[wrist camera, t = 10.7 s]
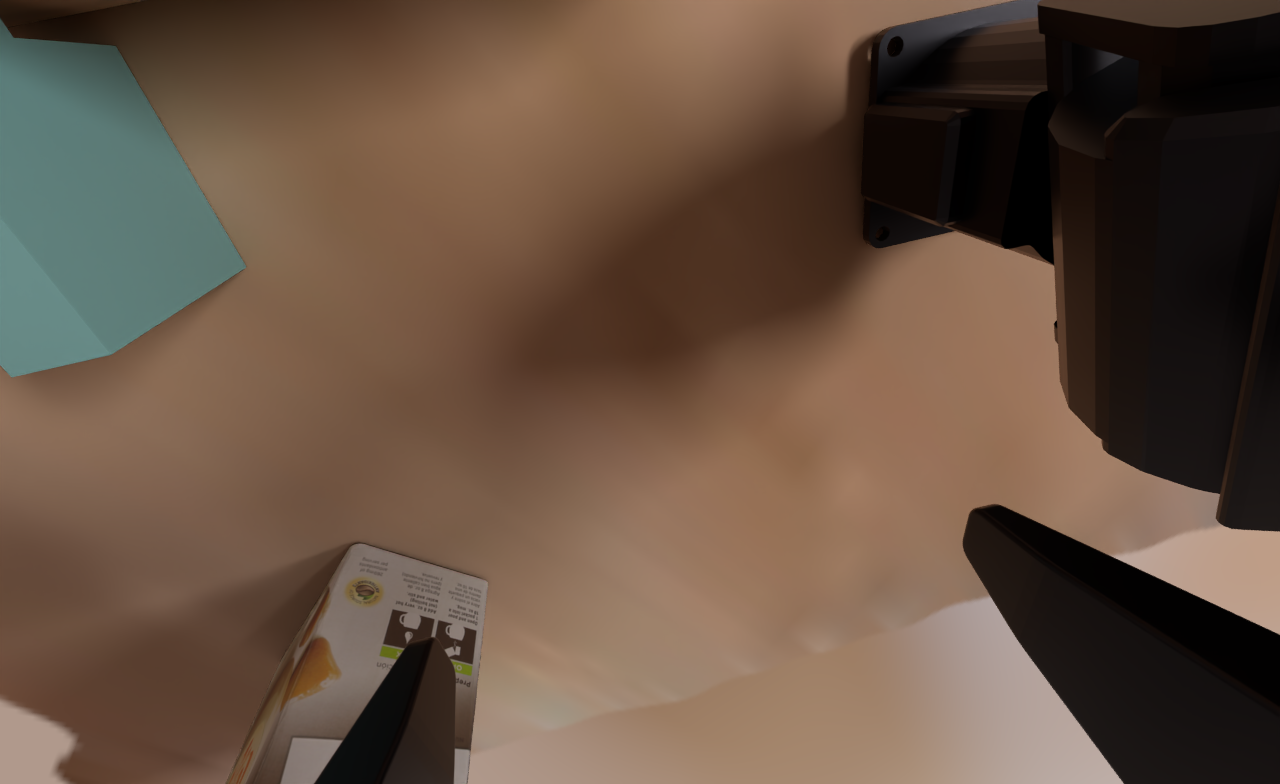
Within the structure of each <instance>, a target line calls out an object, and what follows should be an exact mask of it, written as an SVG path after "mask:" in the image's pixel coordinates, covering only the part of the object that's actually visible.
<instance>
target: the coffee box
mask: <svg viewBox="0 0 1280 784" xmlns="http://www.w3.org/2000/svg"><path fill="white" fill-rule="evenodd" d="M487 591H488V583H487V581H485V580H483V579H480V578H476V577H473V576H470V575H466V574H463V573H460V572H456V571H453V570H450V569H446V568H443V567H439V566H436V565H433V564H429V563H426V562H422V561H419V560H416V559H412V558H409V557H405V556H402V555H399V554H395V553H392V552H389V551H385V550H382V549H379V548H376V547H372V546H369V545H366V544H354V545H352V546H350V548H349V549H348V551H347V553H346V554H345V556H344V558H343V559H342V561H341V562H340V564H339V566H338V567H337V569H336V571H335V572H334V574H333V576H332V577H331V579H330V581H329V582H328V584H327V586H326V587H325V589H324V591H323V592H322V594H321V596H320V597H319V599H318V601H317V602H316V604H315V605H314V607H313V609H312V610H311V612H310V614H309V615H308V617H307V618H306V620H305V622H304V623H303V625H302V627H301V628H300V630H299V631H298V633H297V635H296V636H295V638H294V640H293V641H292V643H291V645H290V646H289V648H288V650H287V651H286V653H285V655H284V656H283V658H282V659H281V661H280V663H279V665H278V667H277V669H276V672H275V674H274V676H273V678H272V680H271V683H270V685H269V687H268V689H267V692H266V694H265V696H264V698H263V700H262V703H261V705H260V707H259V709H258V712H257V714H256V716H255V718H254V720H253V723H252V725H251V727H250V729H249V732H248V734H247V736H246V738H245V741H244V743H243V746H242V748H241V750H240V753H239V755H238V757H237V759H236V761H235V763H234V766H233V768H232V770H231V773H230V775H229V777H228V779H227V782H226V784H314V783H315V781H316V780H317V778H318V777H319V775H320V774H321V772H322V771H323V769H324V768H325V766H326V765H327V763H328V762H329V760H330V759H331V757H332V756H333V754H334V753H335V751H336V750H337V748H338V747H339V745H340V744H341V742H342V741H343V739H344V738H345V736H346V735H347V733H348V732H349V730H350V729H351V727H352V726H353V724H354V723H355V721H356V720H357V718H358V717H359V715H360V714H361V712H362V711H363V709H364V708H365V706H366V705H367V703H368V702H369V700H370V699H371V697H372V696H373V694H374V693H375V691H376V690H377V688H378V687H379V685H380V684H381V683H382V681H383V680H384V678H385V677H386V675H387V674H388V672H389V671H390V669H391V668H392V666H393V665H394V663H395V662H396V660H397V659H398V657H399V656H400V654H401V653H402V651H403V650H404V648H405V647H406V646H407V645H408V644H409V643H411V642H413V641H416V640H420V639H425V638H429V637H435V638H437V639H438V640H439V641H440V643H441V645H442V646H443V648H444V650H445V651H446V653H447V655H448V656H449V658H450V660H451V661H452V663H453V665H454V668H455V673H456V713H455V770H454V784H467V783H468V773H469V772H468V771H469V764H470V751H471V742H472V732H473V722H474V714H475V705H476V695H477V683H478V675H479V667H480V659H481V648H482V638H483V629H484V618H485V608H486V599H487Z"/></svg>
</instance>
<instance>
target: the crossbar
mask: <svg viewBox="0 0 1280 784" xmlns="http://www.w3.org/2000/svg"><path fill="white" fill-rule="evenodd" d="M245 268H246V265H245V264H244V262H243V260H242V259H241V257H240V255H239V254H238V252H237V250H236V248H235V247H234V245H233V243H232V242H231V240H230V238H229V237H228V235H227V233H226V232H225V230H224V228H223V226H222V225H221V223H220V221H219V220H218V218H217V216H216V215H215V213H214V211H213V210H212V208H211V206H210V205H209V203H208V201H207V199H206V198H205V196H204V194H203V193H202V191H201V189H200V188H199V186H198V184H197V183H196V181H195V179H194V177H193V176H192V174H191V172H190V171H189V169H188V167H187V166H186V164H185V162H184V161H183V159H182V157H181V155H180V154H179V152H178V150H177V149H176V147H175V145H174V144H173V142H172V140H171V139H170V137H169V135H168V133H167V132H166V130H165V128H164V127H163V125H162V123H161V122H160V120H159V118H158V117H157V115H156V113H155V111H154V110H153V108H152V106H151V105H150V103H149V101H148V100H147V98H146V96H145V95H144V93H143V91H142V90H141V88H140V86H139V84H138V83H137V81H136V79H135V78H134V76H133V74H132V73H131V71H130V69H129V68H128V66H127V64H126V62H125V61H124V59H123V57H122V56H121V54H120V52H119V51H118V49H117V47H116V46H112V45H99V44H86V43H74V42H61V41H49V40H36V39H23V38H13V36H12V35H11V33H10V32H9V31H8V29H7V28H6V26H5V25H4V23H3V22H2V20H1V19H0V366H1V367H2V368H3V369H4V370H5V371H6V372H7V373H8V374H9V375H10V376H11V377H16V376H20V375H24V374H29V373H33V372H38V371H42V370H46V369H51V368H55V367H60V366H64V365H68V364H73V363H77V362H82V361H86V360H90V359H95V358H99V357H104V356H108V355H112V354H113V353H115V352H116V351H118V350H119V349H121V348H123V347H124V346H126V345H127V344H129V343H130V342H132V341H133V340H135V339H136V338H138V337H140V336H141V335H143V334H144V333H146V332H147V331H149V330H150V329H152V328H153V327H155V326H157V325H158V324H160V323H161V322H163V321H164V320H166V319H167V318H169V317H170V316H172V315H174V314H175V313H177V312H178V311H180V310H181V309H183V308H184V307H186V306H187V305H189V304H191V303H192V302H194V301H195V300H197V299H198V298H200V297H201V296H203V295H204V294H206V293H207V292H209V291H211V290H212V289H214V288H215V287H217V286H218V285H220V284H221V283H223V282H224V281H226V280H228V279H229V278H231V277H232V276H234V275H235V274H237V273H238V272H240V271H241V270H243V269H245Z"/></svg>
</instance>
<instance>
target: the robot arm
mask: <svg viewBox="0 0 1280 784" xmlns="http://www.w3.org/2000/svg"><path fill="white" fill-rule="evenodd" d="M892 38H893V39H894V40H895V43H896V47H895V51H894V52H893V54H892V55H891V56H890V55H889V54H888V52H887V46H888V43H889V41H890V40H891V39H892ZM861 194H862V195H863V196H864V197H865V201H864V222H863V238H864V240H865V242H866V243H867V244H869V245H871V246H873V247H875V248H884V247H888V246H892V245H897V244H901V243H905V242H909V241H914V240H918V239H922V238H926V237H931V236H935V235H939V234H944V233H948V232H952V231H957V232H960V233H963V234H965V235H968V236H971V237H974V238H976V239H979V240H982V241H985V242H988V243H990V244H993V245H996V246H999V247H1001V248H1004V249H1009V250H1012V251H1015V252H1018V253H1020V254H1023V255H1026V256H1029V257H1032V258H1034V259H1037V260H1040V261H1043V262H1045V263H1048V264H1051V265H1054V268H1055V289H1056V309H1057V321H1055V323H1054V333H1055V341H1056V342H1057V343H1058V351H1059V371H1060V382H1061V385H1062V388H1063V392H1064V395H1065V398H1066V401H1067V404H1068V407H1069V408H1070V409H1071V411H1072V412H1073V413H1074V414H1075V415H1076V416H1077V417H1078V418H1079V419H1080V420H1081V421H1082V422H1083V423H1084V424H1085V425H1086V426H1087V427H1088V428H1089V429H1090V430H1091V431H1092V432H1093V433H1094V434H1095V435H1096V436H1098V437H1099V438H1101V439H1102V447H1103V449H1104V450H1105V451H1106V452H1107V453H1108V454H1110V455H1111V456H1113V457H1115V458H1117V459H1119V460H1121V461H1123V462H1125V463H1127V464H1129V465H1131V466H1133V467H1135V468H1137V469H1139V470H1140V471H1143V472H1145V473H1148V474H1151V475H1154V476H1157V477H1160V478H1163V479H1166V480H1169V481H1172V482H1175V483H1178V484H1181V485H1184V486H1187V487H1190V488H1194V489H1198V490H1202V491H1207V492H1212V493H1218V494H1220V497H1219V503H1218V508H1217V513H1216V519H1217V521H1218V522H1219V523H1220V524H1222V525H1223V526H1225V527H1228V528H1231V529H1242V530H1261V531H1280V0H1015V1H1010V2H1006V3H1001V4H996V5H992V6H987V7H982V8H977V9H973V10H968V11H963V12H959V13H954V14H949V15H944V16H940V17H935V18H930V19H926V20H921V21H916V22H911V23H907V24H902V25H897V26H892V27H888V28H886V29H884V30H882V31H881V32H880V33H879V34H878V35H877V37H876V39H875V40H874V42H873V46H872V54H871V75H870V96H869V109H868V110H867V112H866V114H865V117H864V139H863V162H862V184H861ZM881 227H883V232H882V234H881V235H880V237H878V238H876V232H877V231H878V229H879V228H881ZM963 549H964V552H965V554H966V556H967V558H968V560H969V562H970V563H971V565H972V566H973V568H974V570H975V571H976V573H977V575H978V576H979V578H980V580H981V581H982V583H983V585H984V586H985V588H986V590H987V591H988V593H989V594H990V596H991V598H992V599H993V601H994V603H995V604H996V606H997V608H998V609H999V611H1000V613H1001V614H1002V616H1003V618H1004V619H1005V621H1006V622H1007V624H1008V626H1009V627H1010V629H1011V630H1012V632H1013V633H1014V635H1015V637H1016V638H1017V640H1018V641H1019V643H1020V644H1021V645H1022V647H1023V648H1024V650H1025V651H1026V652H1027V654H1028V655H1029V657H1030V658H1031V659H1032V661H1033V662H1034V663H1035V665H1036V666H1037V667H1038V669H1039V670H1040V671H1041V673H1042V674H1043V675H1044V677H1045V678H1046V679H1047V681H1048V682H1049V683H1050V685H1051V686H1052V688H1053V689H1054V690H1055V691H1056V693H1057V694H1058V696H1059V697H1060V698H1061V700H1062V701H1063V702H1064V704H1065V705H1066V706H1067V708H1068V709H1069V710H1070V712H1071V713H1072V714H1073V716H1074V717H1075V718H1076V720H1077V721H1078V722H1079V724H1080V725H1081V726H1082V728H1083V729H1084V731H1085V732H1086V733H1087V735H1088V736H1089V737H1090V739H1091V740H1092V741H1093V743H1094V744H1095V745H1096V747H1097V748H1098V749H1099V751H1100V752H1101V753H1102V755H1103V756H1104V758H1105V759H1106V760H1107V762H1108V763H1109V764H1110V766H1111V767H1112V768H1113V769H1114V771H1115V772H1116V774H1117V775H1118V776H1119V778H1120V779H1121V780H1122V781H1123V783H1124V784H1280V635H1279V634H1277V633H1275V632H1273V631H1271V630H1269V629H1266V628H1264V627H1262V626H1260V625H1258V624H1256V623H1253V622H1251V621H1249V620H1247V619H1245V618H1243V617H1241V616H1238V615H1236V614H1234V613H1232V612H1230V611H1227V610H1225V609H1223V608H1221V607H1219V606H1217V605H1215V604H1213V603H1210V602H1208V601H1206V600H1204V599H1202V598H1200V597H1198V596H1195V595H1193V594H1191V593H1189V592H1187V591H1184V590H1182V589H1180V588H1178V587H1176V586H1174V585H1172V584H1170V583H1167V582H1165V581H1163V580H1161V579H1159V578H1157V577H1155V576H1152V575H1150V574H1148V573H1146V572H1144V571H1141V570H1139V569H1137V568H1135V567H1133V566H1131V565H1128V564H1127V563H1124V562H1122V561H1120V560H1118V559H1116V558H1114V557H1112V556H1109V555H1107V554H1105V553H1103V552H1101V551H1099V550H1096V549H1094V548H1092V547H1090V546H1088V545H1086V544H1084V543H1081V542H1079V541H1077V540H1075V539H1073V538H1071V537H1068V536H1066V535H1064V534H1062V533H1060V532H1058V531H1056V530H1053V529H1051V528H1049V527H1047V526H1045V525H1043V524H1041V523H1038V522H1036V521H1034V520H1032V519H1030V518H1028V517H1025V516H1023V515H1021V514H1019V513H1017V512H1015V511H1013V510H1010V509H1008V508H1006V507H1004V506H1001V505H998V504H991V505H987V506H982V507H978V508H975V509H973V510H972V511H971V512H970V514H969V517H968V521H967V525H966V529H965V533H964V537H963ZM455 713H456V673H455V668H454V665H453V663H452V661H451V660H450V658H449V656H448V655H447V653H446V651H445V650H444V648H443V646H442V645H441V643H440V641H439V640H438V639H437V638H435V637H429V638H425V639H420V640H416V641H413V642H411V643H409V644H408V645H407V646H406V647H405V648H404V650H403V651H402V653H401V654H400V656H399V657H398V659H397V660H396V662H395V663H394V665H393V666H392V668H391V669H390V671H389V672H388V674H387V675H386V677H385V678H384V680H383V681H382V683H381V684H380V685H379V687H378V688H377V690H376V691H375V693H374V694H373V696H372V697H371V699H370V700H369V702H368V703H367V705H366V706H365V708H364V709H363V711H362V712H361V714H360V715H359V717H358V718H357V720H356V721H355V723H354V724H353V726H352V727H351V729H350V730H349V732H348V733H347V735H346V736H345V738H344V739H343V741H342V742H341V744H340V745H339V747H338V748H337V750H336V751H335V753H334V754H333V756H332V757H331V759H330V760H329V762H328V763H327V765H326V766H325V768H324V769H323V771H322V772H321V774H320V775H319V777H318V778H317V780H316V781H315V783H314V784H454V770H455Z"/></svg>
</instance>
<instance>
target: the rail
mask: <svg viewBox="0 0 1280 784" xmlns="http://www.w3.org/2000/svg"><path fill="white" fill-rule="evenodd" d="M140 1H145V0H0V19H1V20H2V22H3V23H4V25H5V26H6V27H11V26H16V25H22V24H27V23H32V22H37V21H42V20H47V19H52V18H57V17H63V16H68V15H73V14H78V13H83V12H88V11H93V10H99V9H104V8H109V7H114V6H119V5H124V4H129V3H135V2H140Z"/></svg>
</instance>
